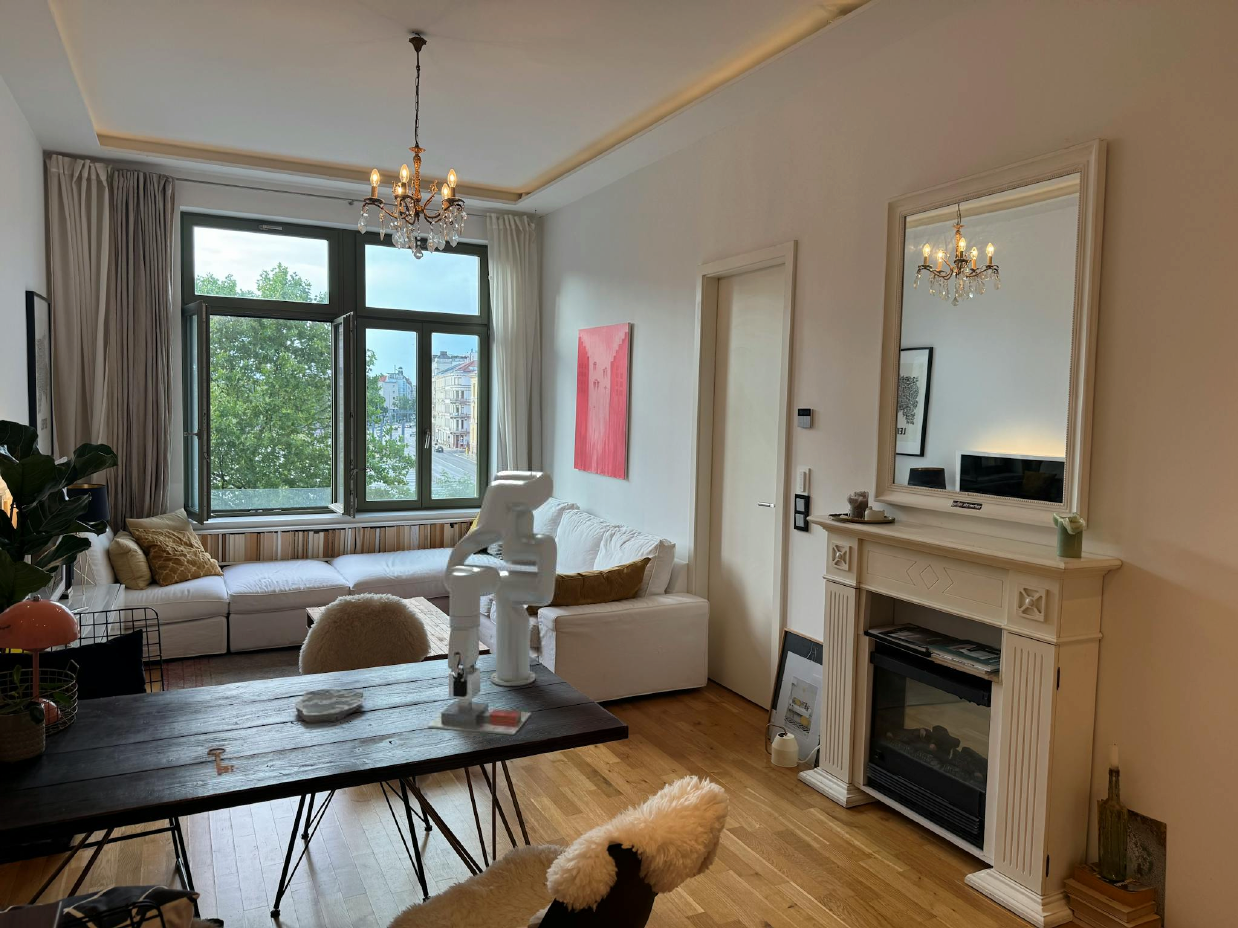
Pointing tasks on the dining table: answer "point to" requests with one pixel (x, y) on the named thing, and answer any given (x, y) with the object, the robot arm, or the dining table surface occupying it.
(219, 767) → the key
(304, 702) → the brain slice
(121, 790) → the dining table surface
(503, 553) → the robot arm
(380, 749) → the dining table surface
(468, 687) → the light grey cube
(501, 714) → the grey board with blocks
